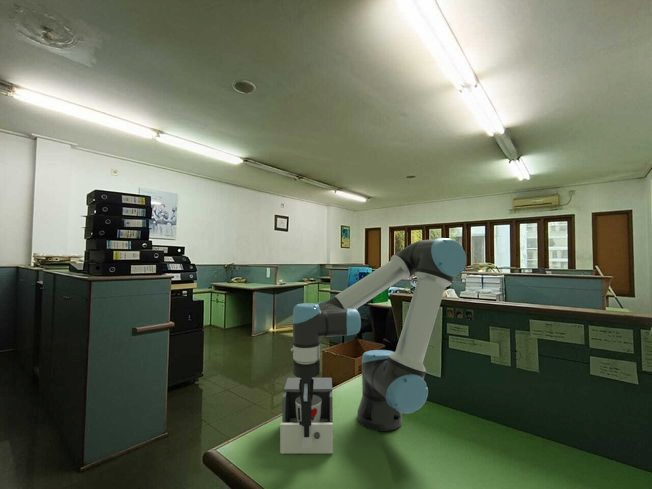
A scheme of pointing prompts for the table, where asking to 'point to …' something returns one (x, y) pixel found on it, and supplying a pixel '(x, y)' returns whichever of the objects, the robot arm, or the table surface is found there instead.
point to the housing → (320, 389)
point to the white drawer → (293, 437)
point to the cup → (315, 409)
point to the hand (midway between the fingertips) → (306, 446)
